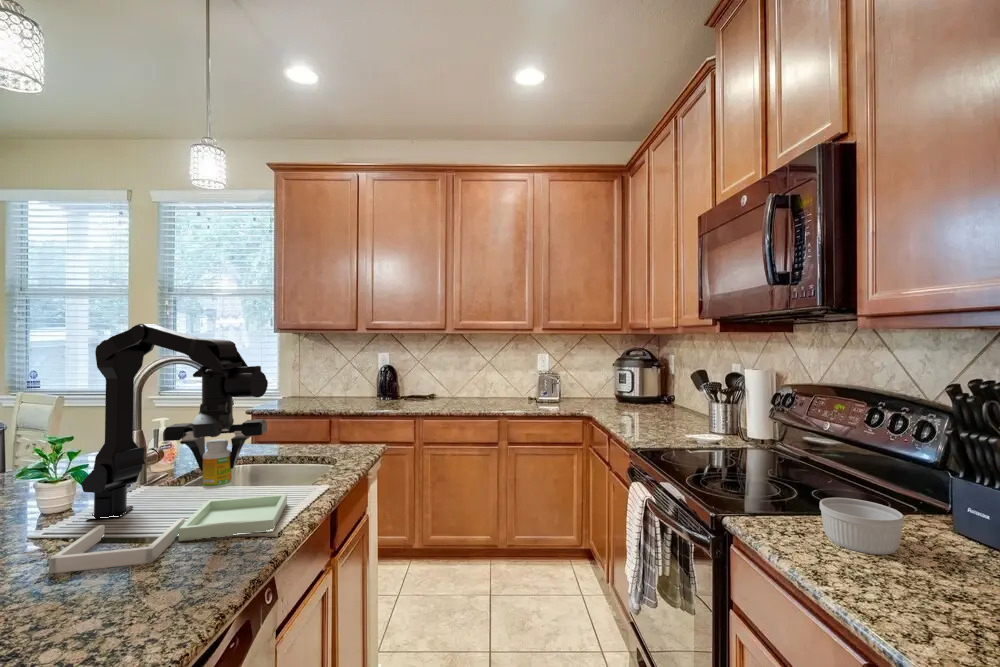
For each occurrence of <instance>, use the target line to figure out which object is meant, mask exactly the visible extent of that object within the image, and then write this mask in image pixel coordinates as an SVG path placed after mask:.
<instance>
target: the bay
mask: <svg viewBox="0 0 1000 667" xmlns="http://www.w3.org/2000/svg"><path fill="white" fill-rule="evenodd" d="M185 522H186V521H185V517H183V518H182V517H181V518H180V517H179V518H178V519H176V521H174V523H172V524H171V525H170V526H169V527H168V528H167V529H166V530H165V531H164V532H163V533H162V534H160V535H159V536H158V537H157V538H156V539H155V540H154V541H153V542H151V544H150V545H149V546H144V547H143V546H142V547H134V548H133V547H132V548H123V549H122V548H121V549H113V550H103V551H91V552H86V551H88V550H90V549H91V548H92V547H94V546H95V545H96V544H97V543H99V542H100V541H102V540H101V537H102V536H103V535H104V536H105V528H106V527H105V524H100V525H99V524H98V525H97V526H95V527H94V528H92V529H91V530H90V531H88V532H87V533H85V534H84V535H82V536H81V537H80V538H78V539H76V540H75V541H73V542H72V543H70V544H68V546H66V547H65V548H63V549H61V550H59V552H57V553H56V554H54V555H53V556H51V557H50V558H48V574H59V573H68V572H78V571H79V572H80V571H87V570H97V569H103V568H104V569H105V568H114V567H116V568H117V567H124V566H133V565H140V564H141V565H143V564H151V563H153V562H155V560H156V559H157V558H159V557H160V555H161V554H163V552H165V550H166V549H168V548H169V546H170V545H171V544H172V543H173V542H174V541H175V540H176V539H177V538H176V536H177V535H178V534H179V528H180V527H181V526H182V525H183V524H184V523H185ZM175 538H176V539H175Z"/></svg>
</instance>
